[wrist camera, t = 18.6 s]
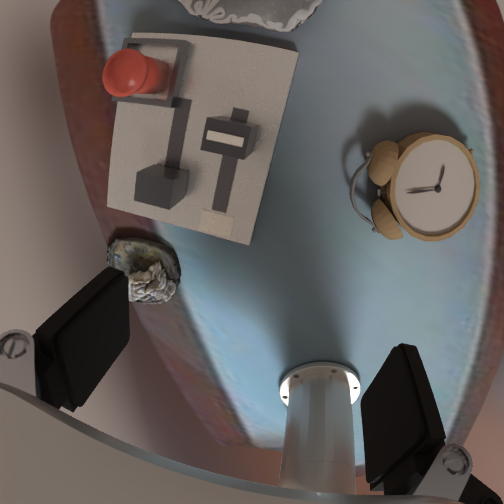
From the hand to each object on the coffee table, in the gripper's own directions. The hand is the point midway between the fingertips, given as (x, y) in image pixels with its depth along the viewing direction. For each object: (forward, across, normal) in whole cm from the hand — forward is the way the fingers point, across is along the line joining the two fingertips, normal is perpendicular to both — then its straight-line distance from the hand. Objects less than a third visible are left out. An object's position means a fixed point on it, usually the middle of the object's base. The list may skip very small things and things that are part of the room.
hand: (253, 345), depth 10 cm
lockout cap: (+22, +16, -10) cm, 29 cm away
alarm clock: (+25, -13, -4) cm, 29 cm away
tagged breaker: (+23, +6, -5) cm, 24 cm away
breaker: (+23, +13, +2) cm, 26 cm away
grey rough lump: (+26, +16, +15) cm, 34 cm away
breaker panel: (+24, +12, -4) cm, 27 cm away
